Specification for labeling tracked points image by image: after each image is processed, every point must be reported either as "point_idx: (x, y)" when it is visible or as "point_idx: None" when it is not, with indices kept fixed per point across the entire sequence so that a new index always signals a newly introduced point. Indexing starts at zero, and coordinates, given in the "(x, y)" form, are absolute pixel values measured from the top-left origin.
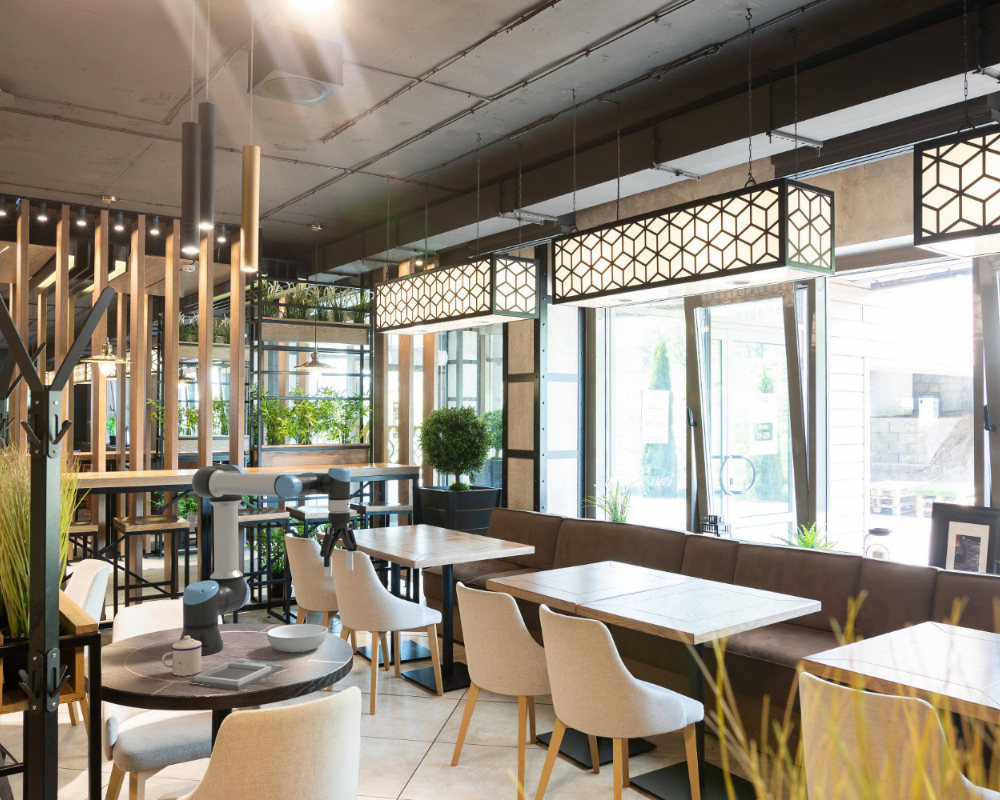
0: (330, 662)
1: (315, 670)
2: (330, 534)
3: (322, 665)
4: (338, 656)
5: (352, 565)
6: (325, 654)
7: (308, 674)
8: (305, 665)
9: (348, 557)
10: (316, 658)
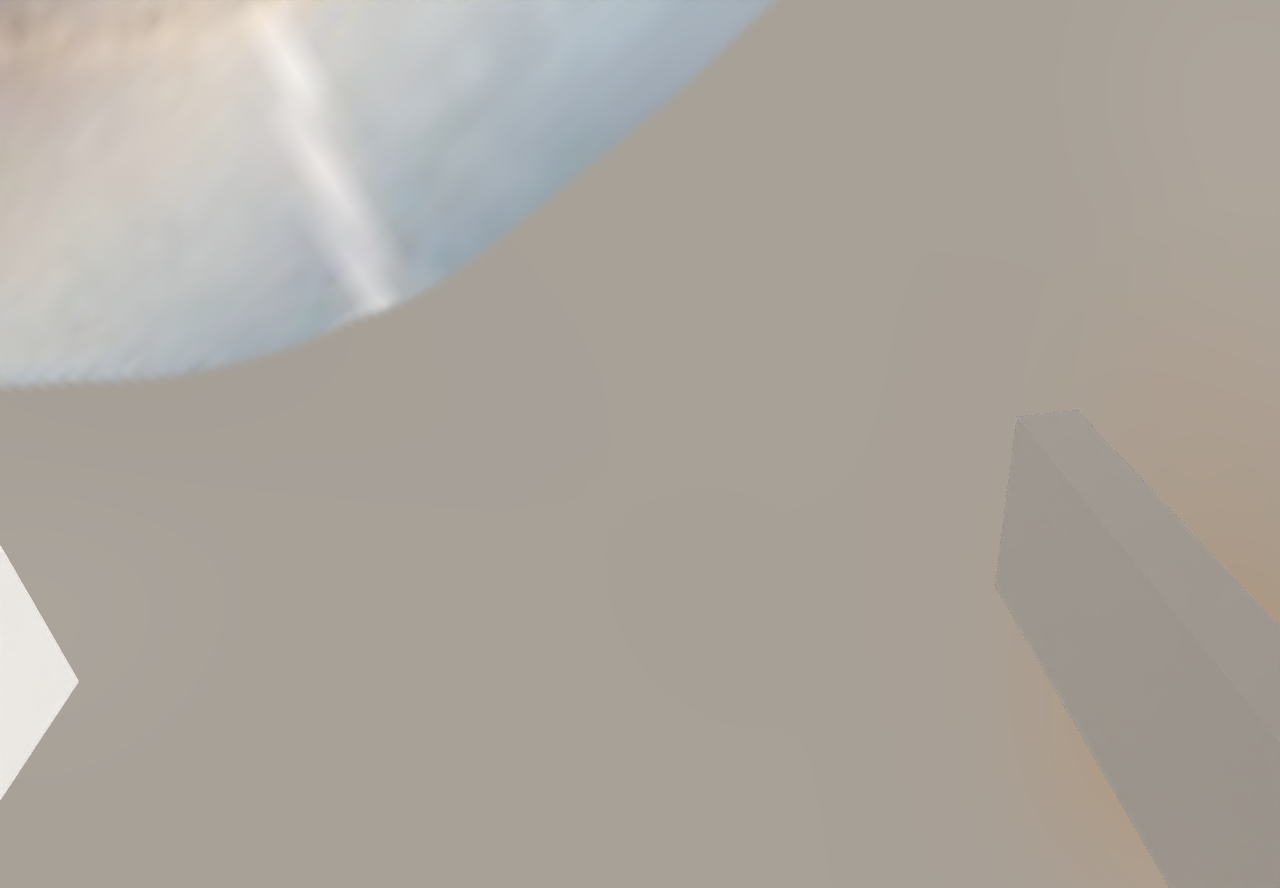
0: (325, 238)
1: (105, 273)
2: None
3: (228, 235)
4: (490, 184)
5: (1058, 672)
6: (479, 31)
7: (5, 293)
8: (133, 105)
9: (1198, 775)
10: (338, 44)
